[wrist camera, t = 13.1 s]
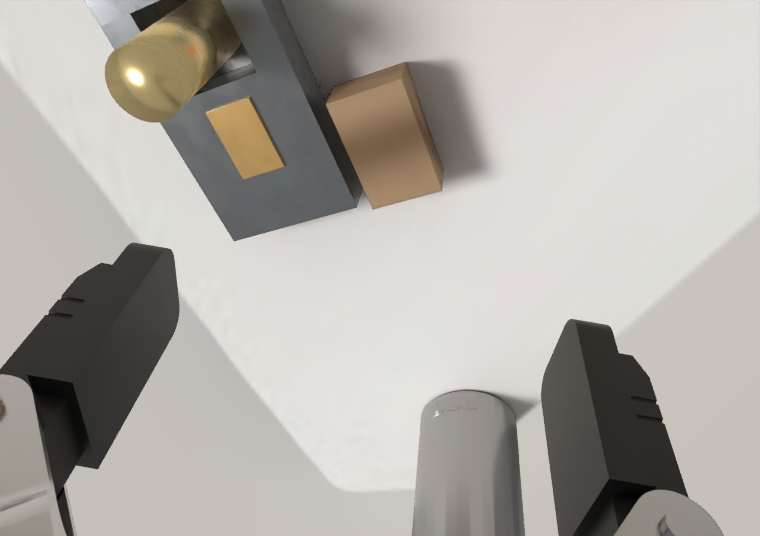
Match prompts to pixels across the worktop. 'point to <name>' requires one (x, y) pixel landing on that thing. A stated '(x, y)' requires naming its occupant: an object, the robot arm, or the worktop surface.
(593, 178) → the worktop surface
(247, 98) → the flange plate
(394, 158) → the brown rectangular block
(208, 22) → the brass peg
